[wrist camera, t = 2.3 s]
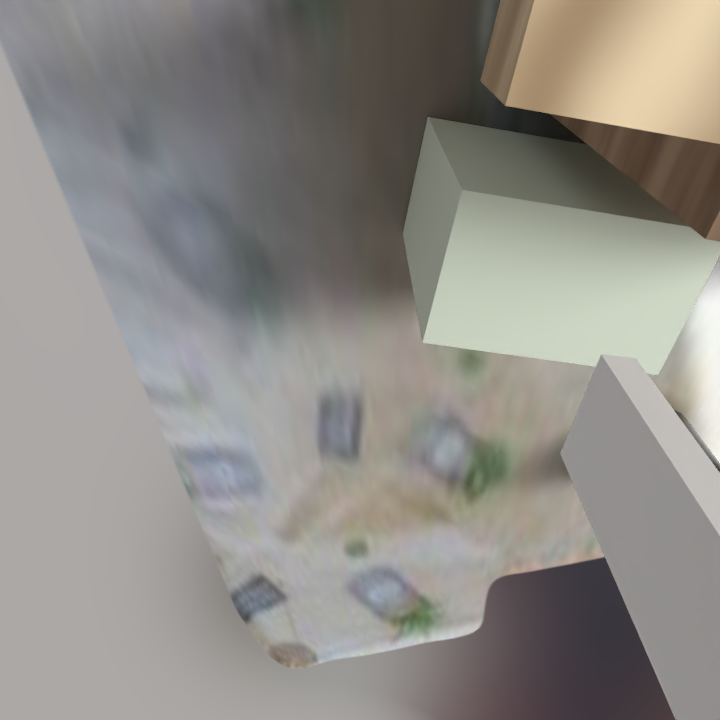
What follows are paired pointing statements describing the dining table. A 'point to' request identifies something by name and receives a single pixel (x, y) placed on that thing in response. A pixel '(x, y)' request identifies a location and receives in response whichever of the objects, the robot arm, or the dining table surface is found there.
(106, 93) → the dining table surface
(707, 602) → the robot arm
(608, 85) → the oak rail
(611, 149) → the walnut stand
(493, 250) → the sage plinth
